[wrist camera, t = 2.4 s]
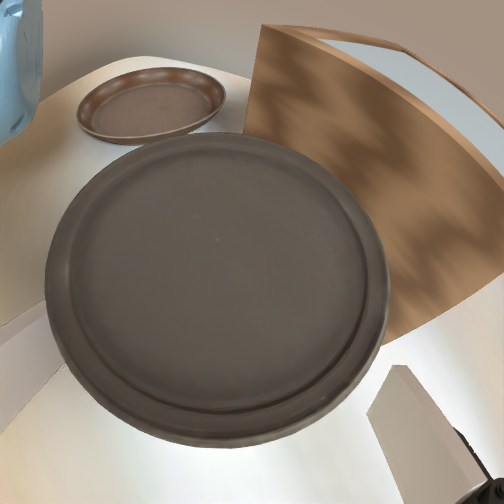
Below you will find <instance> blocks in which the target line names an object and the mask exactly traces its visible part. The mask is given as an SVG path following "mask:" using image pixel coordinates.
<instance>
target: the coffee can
mask: <svg viewBox="0 0 504 504" xmlns="http://www.w3.org/2000/svg"><path fill="white" fill-rule="evenodd" d="M45 301H46V309H47V314H48V319H49V323H50V327H51V331H52V334H53V337H54V340H55V342H56V344H57V347H58V349H59V351H60V353H61V355H62V357H63V359H64V361H65V362H66V364H67V366H68V367H69V369H70V371H71V372H72V374H73V375H74V376H75V378H76V379H77V380H78V381H79V383H80V384H81V385H82V386H83V387H84V388H85V390H86V391H87V392H88V393H89V394H90V395H91V396H92V397H93V398H94V399H95V400H96V401H97V402H98V403H99V404H100V405H101V406H103V407H104V408H105V409H107V410H108V411H109V412H110V413H112V414H113V415H115V416H116V417H118V418H119V419H121V420H122V421H124V422H126V423H127V424H129V425H131V426H133V427H134V428H136V429H138V430H140V431H142V432H144V433H147V434H149V435H152V436H154V437H157V438H160V439H163V440H166V441H169V442H173V443H177V444H182V445H186V446H192V447H201V448H227V449H232V448H242V447H248V446H255V445H259V444H263V443H267V442H270V441H274V440H277V439H280V438H283V437H286V436H289V435H292V434H294V433H296V432H298V431H300V430H302V429H304V428H305V427H307V426H309V425H311V424H313V423H315V422H316V421H318V420H319V419H321V418H322V417H324V416H325V415H327V414H328V413H329V412H331V411H332V410H334V409H335V408H336V407H337V406H338V405H339V404H340V403H341V402H343V401H344V400H345V399H346V398H347V397H348V395H349V394H350V393H351V392H352V391H353V390H354V389H355V388H356V386H357V385H358V384H359V383H360V381H361V380H362V378H363V377H364V376H365V374H366V373H367V372H368V370H369V368H370V367H371V365H372V362H373V361H374V359H375V357H376V355H377V353H378V351H379V349H380V346H381V344H382V341H383V339H384V336H385V333H386V329H387V324H388V319H389V314H390V302H391V284H390V274H389V267H388V262H387V258H386V254H385V251H384V248H383V245H382V242H381V240H380V237H379V235H378V233H377V231H376V229H375V227H374V225H373V223H372V221H371V219H370V217H369V216H368V214H367V213H366V211H365V210H364V209H363V207H362V206H361V204H360V203H359V202H358V200H357V199H356V198H355V196H354V195H353V194H352V193H351V192H350V191H349V190H348V188H347V187H346V186H345V185H344V184H343V183H342V182H341V181H340V180H338V179H337V178H336V177H335V176H334V175H333V174H331V173H330V172H329V171H327V170H326V169H325V168H324V167H322V166H321V165H320V164H318V163H316V162H315V161H313V160H311V159H310V158H308V157H307V156H305V155H303V154H301V153H299V152H297V151H295V150H292V149H290V148H288V147H285V146H283V145H280V144H277V143H275V142H272V141H268V140H265V139H262V138H258V137H253V136H249V135H242V134H236V133H220V132H214V133H194V134H186V135H179V136H175V137H170V138H166V139H162V140H158V141H155V142H152V143H149V144H146V145H144V146H142V147H139V148H137V149H135V150H133V151H131V152H129V153H127V154H125V155H123V156H121V157H120V158H118V159H117V160H115V161H113V162H112V163H111V164H109V165H108V166H107V167H105V168H104V169H103V170H101V171H100V172H99V173H98V174H97V175H95V176H94V177H93V178H92V179H91V180H90V181H89V182H88V184H86V185H85V186H84V187H83V188H82V189H81V190H80V192H79V193H78V194H77V195H76V197H75V198H74V199H73V201H72V202H71V204H70V205H69V207H68V208H67V210H66V211H65V213H64V215H63V216H62V218H61V220H60V222H59V224H58V227H57V229H56V231H55V234H54V236H53V240H52V243H51V247H50V250H49V254H48V258H47V263H46V269H45Z"/></svg>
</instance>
